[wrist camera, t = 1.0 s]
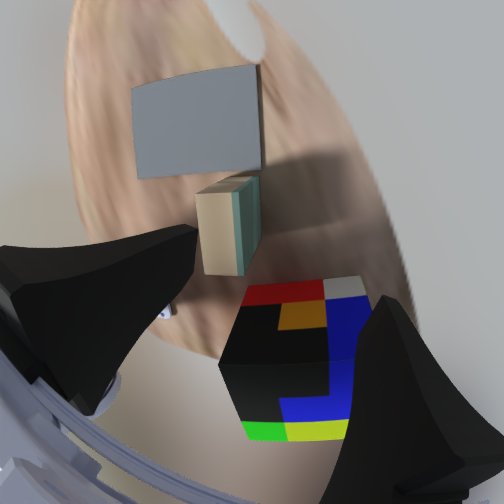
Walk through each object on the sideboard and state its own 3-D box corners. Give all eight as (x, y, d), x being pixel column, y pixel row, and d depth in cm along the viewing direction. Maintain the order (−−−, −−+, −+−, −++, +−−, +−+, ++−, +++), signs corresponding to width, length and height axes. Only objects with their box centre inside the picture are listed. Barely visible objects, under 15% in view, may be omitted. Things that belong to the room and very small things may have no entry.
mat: (139, 178, 23) (137, 179, 22) (132, 89, 19) (131, 88, 19) (261, 169, 20) (261, 169, 20) (255, 65, 17) (255, 64, 17)
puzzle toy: (360, 274, 22) (385, 355, 13) (357, 357, 26) (367, 435, 17) (248, 285, 25) (217, 364, 16) (266, 363, 28) (249, 439, 19)
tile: (232, 236, 23) (204, 274, 17) (227, 177, 21) (195, 193, 15) (261, 236, 23) (244, 276, 16) (258, 175, 21) (238, 192, 14)
